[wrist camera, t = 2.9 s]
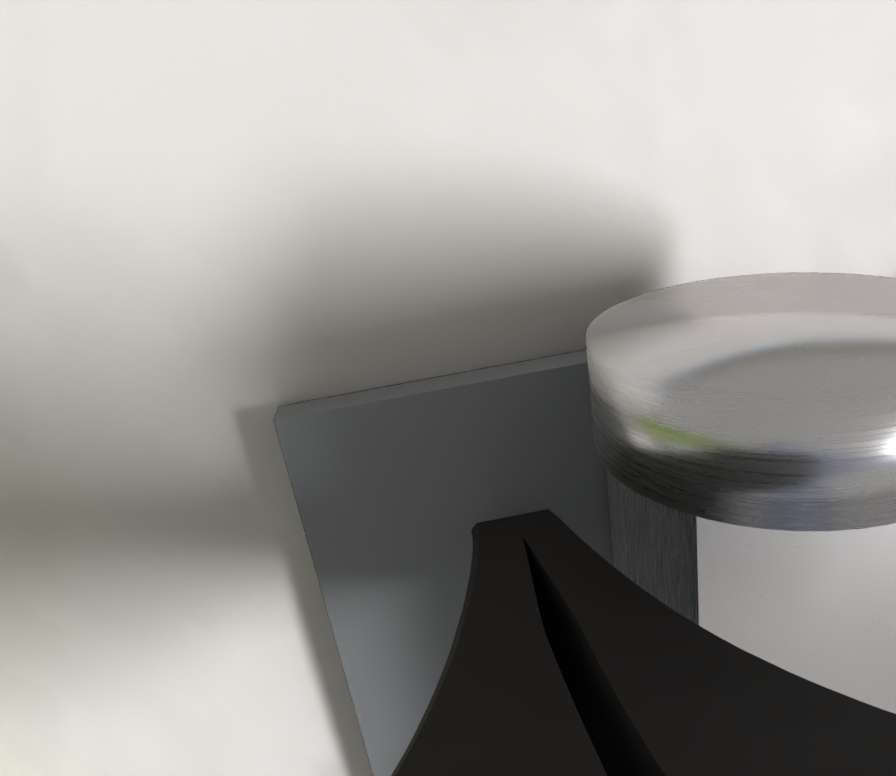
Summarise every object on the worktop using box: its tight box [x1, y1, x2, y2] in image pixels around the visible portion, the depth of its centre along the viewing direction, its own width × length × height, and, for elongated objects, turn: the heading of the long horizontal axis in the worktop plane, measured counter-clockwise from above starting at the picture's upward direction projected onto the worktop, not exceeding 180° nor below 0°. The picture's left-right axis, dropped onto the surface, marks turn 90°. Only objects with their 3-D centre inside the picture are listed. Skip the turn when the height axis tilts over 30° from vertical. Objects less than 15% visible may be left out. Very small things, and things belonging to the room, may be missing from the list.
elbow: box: [586, 272, 896, 714], centre depth 11 cm, size 14×5×5 cm, turn 9°
